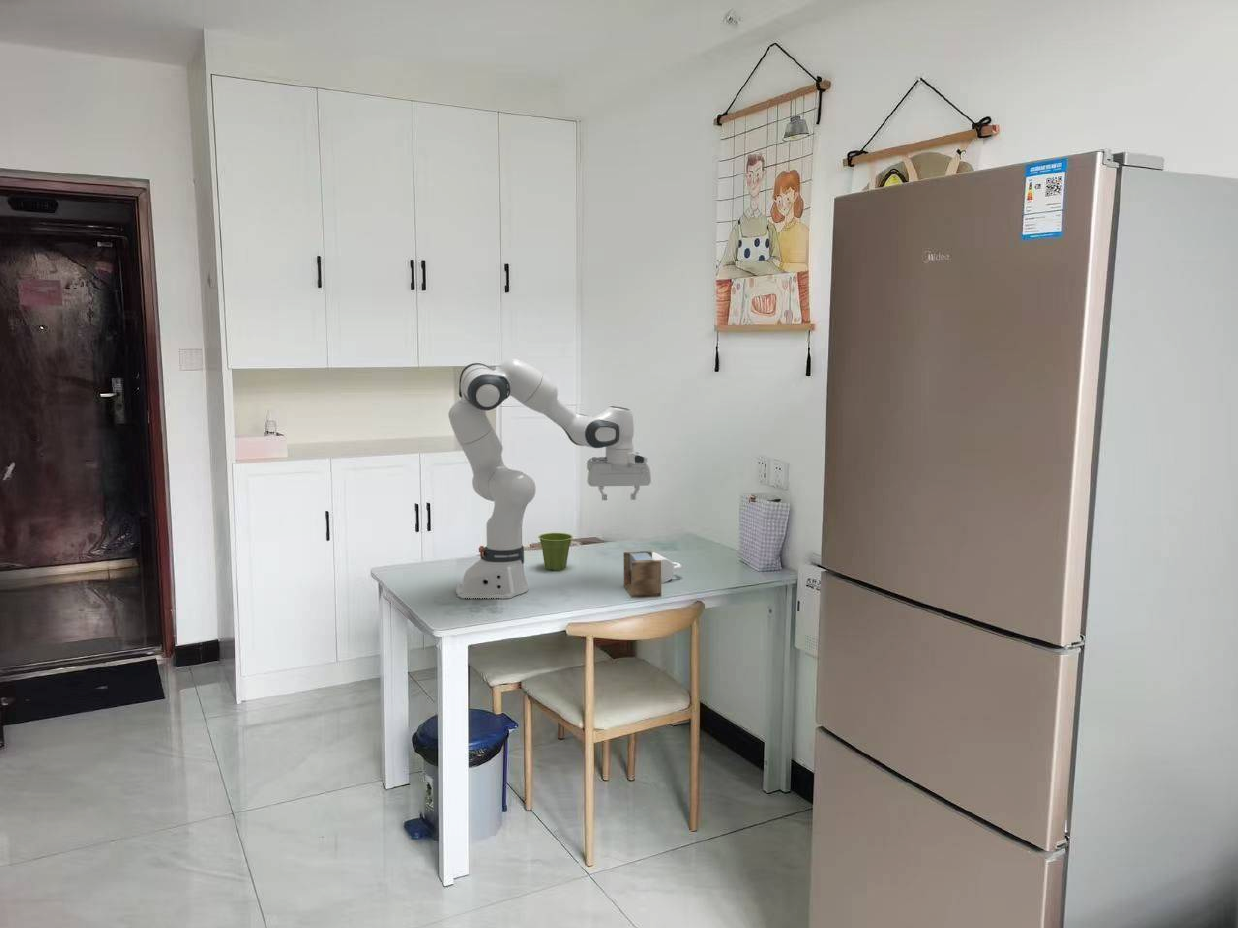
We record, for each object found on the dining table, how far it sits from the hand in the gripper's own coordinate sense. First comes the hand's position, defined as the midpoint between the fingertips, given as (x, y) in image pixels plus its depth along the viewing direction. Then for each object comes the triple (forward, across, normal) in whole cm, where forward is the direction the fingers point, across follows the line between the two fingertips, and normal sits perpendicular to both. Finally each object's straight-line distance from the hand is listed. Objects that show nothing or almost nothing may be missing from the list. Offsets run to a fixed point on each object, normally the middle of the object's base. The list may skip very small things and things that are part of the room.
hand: (618, 499), depth 291 cm
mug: (+27, +15, +2) cm, 31 cm away
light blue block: (+21, +6, -12) cm, 25 cm away
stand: (+27, +6, -12) cm, 30 cm away
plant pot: (+28, -18, +21) cm, 39 cm away
